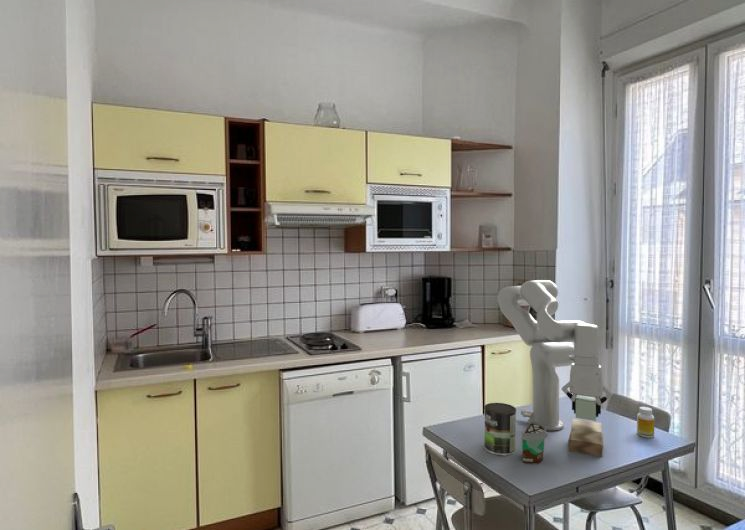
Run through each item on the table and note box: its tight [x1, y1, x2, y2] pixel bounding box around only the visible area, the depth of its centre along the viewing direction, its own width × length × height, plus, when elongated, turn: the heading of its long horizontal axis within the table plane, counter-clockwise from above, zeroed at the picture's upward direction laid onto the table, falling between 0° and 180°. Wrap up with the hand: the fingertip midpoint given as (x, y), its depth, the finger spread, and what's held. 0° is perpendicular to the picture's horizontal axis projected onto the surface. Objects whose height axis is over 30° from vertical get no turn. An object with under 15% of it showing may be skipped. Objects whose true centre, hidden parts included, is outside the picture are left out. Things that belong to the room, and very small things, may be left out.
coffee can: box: [483, 402, 517, 457], centre depth 153 cm, size 10×10×14 cm
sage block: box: [575, 395, 597, 422], centre depth 153 cm, size 6×6×6 cm
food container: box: [521, 421, 548, 465], centre depth 145 cm, size 12×6×10 cm, turn 148°
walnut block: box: [567, 431, 604, 457], centre depth 154 cm, size 10×10×4 cm
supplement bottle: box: [636, 406, 655, 439], centre depth 164 cm, size 5×5×10 cm
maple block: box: [570, 418, 603, 444], centre depth 154 cm, size 9×9×4 cm
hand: (586, 413), depth 153 cm, fingers closed on sage block, 6 cm apart
